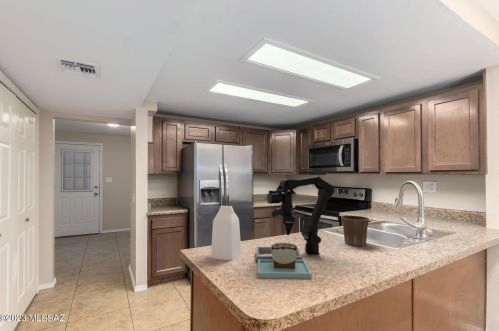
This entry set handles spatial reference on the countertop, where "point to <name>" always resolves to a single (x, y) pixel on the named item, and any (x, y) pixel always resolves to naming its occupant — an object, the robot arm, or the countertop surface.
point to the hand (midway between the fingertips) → (287, 233)
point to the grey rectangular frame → (267, 250)
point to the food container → (284, 255)
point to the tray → (282, 270)
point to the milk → (226, 235)
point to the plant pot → (355, 230)
